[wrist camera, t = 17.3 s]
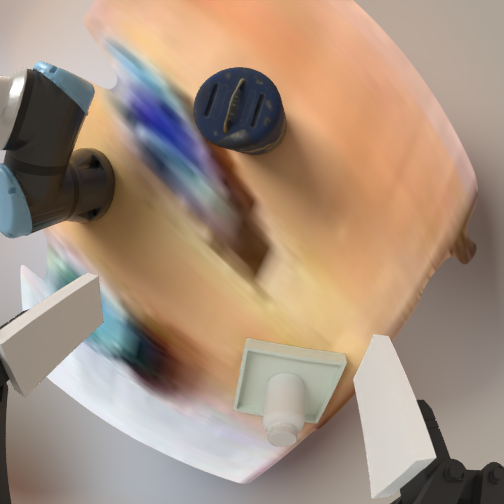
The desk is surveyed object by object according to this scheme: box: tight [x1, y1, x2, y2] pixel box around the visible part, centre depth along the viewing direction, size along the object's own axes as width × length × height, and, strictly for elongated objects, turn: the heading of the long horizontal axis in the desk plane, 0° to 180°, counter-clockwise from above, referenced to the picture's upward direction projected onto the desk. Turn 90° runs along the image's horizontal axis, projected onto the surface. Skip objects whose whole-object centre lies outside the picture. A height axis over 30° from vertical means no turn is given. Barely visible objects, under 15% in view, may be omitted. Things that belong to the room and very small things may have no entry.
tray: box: [233, 338, 347, 423], centre depth 53 cm, size 20×20×3 cm
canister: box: [194, 67, 286, 155], centre depth 32 cm, size 10×10×18 cm
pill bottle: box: [262, 373, 305, 447], centre depth 47 cm, size 8×8×15 cm
